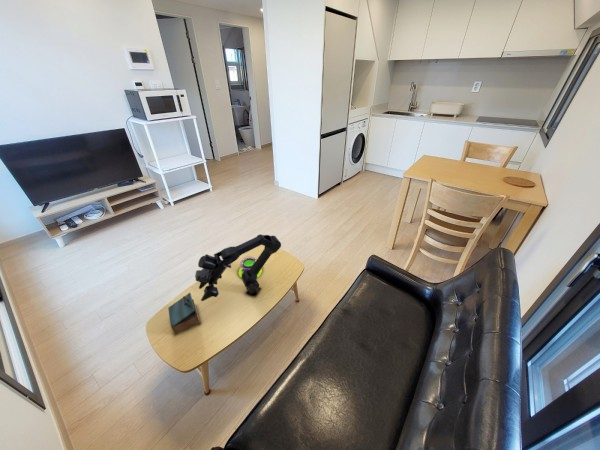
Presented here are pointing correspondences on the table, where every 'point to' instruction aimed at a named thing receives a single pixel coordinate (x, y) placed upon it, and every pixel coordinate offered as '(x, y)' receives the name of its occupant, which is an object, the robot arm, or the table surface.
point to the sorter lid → (181, 309)
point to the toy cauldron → (247, 265)
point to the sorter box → (187, 322)
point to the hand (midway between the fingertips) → (200, 294)
